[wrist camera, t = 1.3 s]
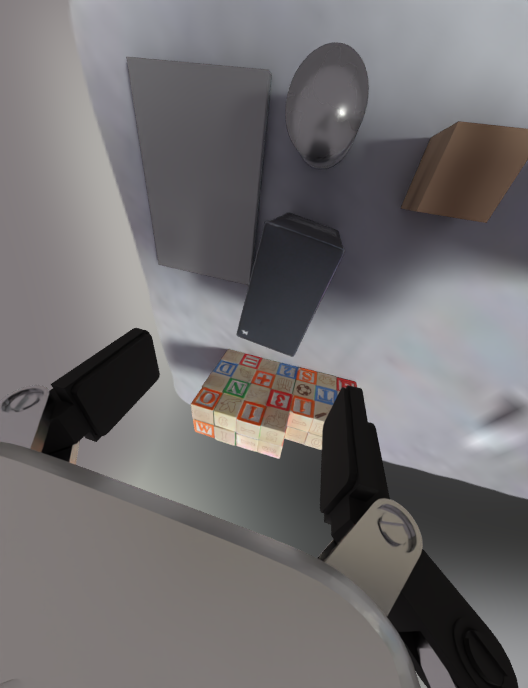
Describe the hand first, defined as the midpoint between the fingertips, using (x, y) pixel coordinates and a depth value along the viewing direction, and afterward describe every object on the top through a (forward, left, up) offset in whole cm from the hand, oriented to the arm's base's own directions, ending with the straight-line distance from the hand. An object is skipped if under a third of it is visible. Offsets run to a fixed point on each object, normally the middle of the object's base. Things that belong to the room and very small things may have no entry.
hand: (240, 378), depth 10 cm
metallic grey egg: (0, -12, -20) cm, 23 cm away
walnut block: (-11, -10, -20) cm, 25 cm away
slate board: (+12, -6, -20) cm, 24 cm away
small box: (0, 0, -20) cm, 20 cm away
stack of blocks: (-2, +18, -20) cm, 27 cm away
